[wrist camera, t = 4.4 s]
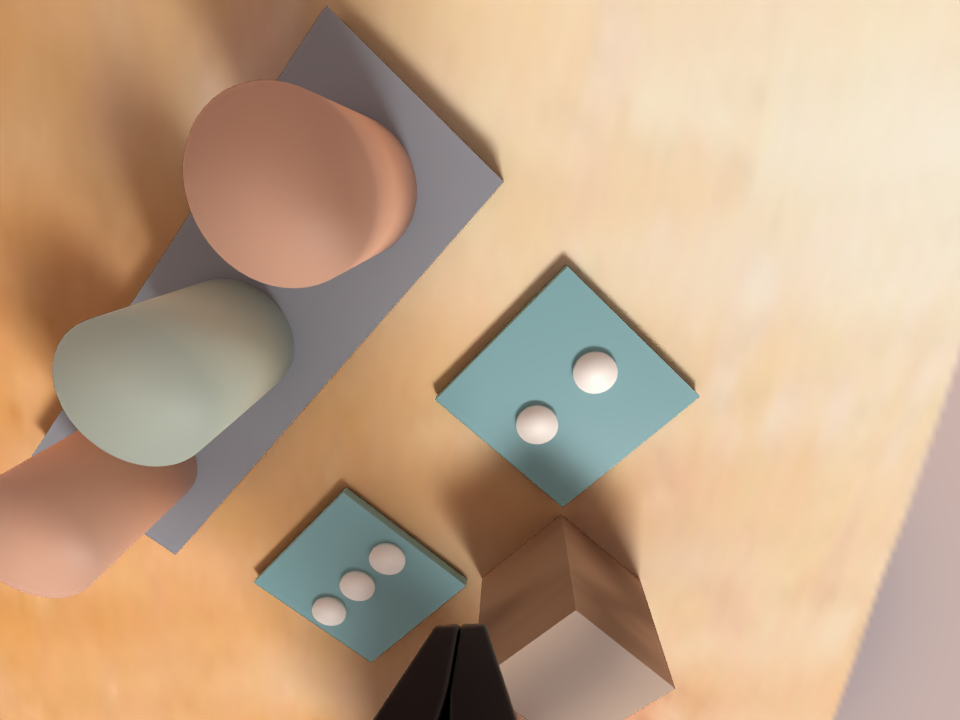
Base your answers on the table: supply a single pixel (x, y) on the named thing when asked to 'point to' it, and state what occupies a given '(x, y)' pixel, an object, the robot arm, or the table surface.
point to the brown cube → (572, 630)
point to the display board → (338, 296)
